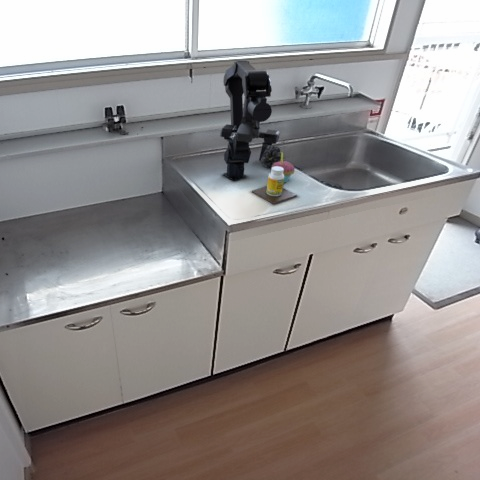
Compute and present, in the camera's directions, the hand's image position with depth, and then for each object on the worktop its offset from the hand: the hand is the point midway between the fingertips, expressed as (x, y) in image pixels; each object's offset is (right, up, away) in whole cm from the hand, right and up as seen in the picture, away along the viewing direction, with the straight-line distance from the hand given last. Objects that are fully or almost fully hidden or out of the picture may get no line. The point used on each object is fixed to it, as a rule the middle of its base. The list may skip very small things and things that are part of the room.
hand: (246, 158), depth 135 cm
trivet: (+11, -12, +5) cm, 17 cm away
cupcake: (+17, -5, +15) cm, 23 cm away
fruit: (+16, +4, +29) cm, 33 cm away
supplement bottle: (+11, -12, +5) cm, 17 cm away
